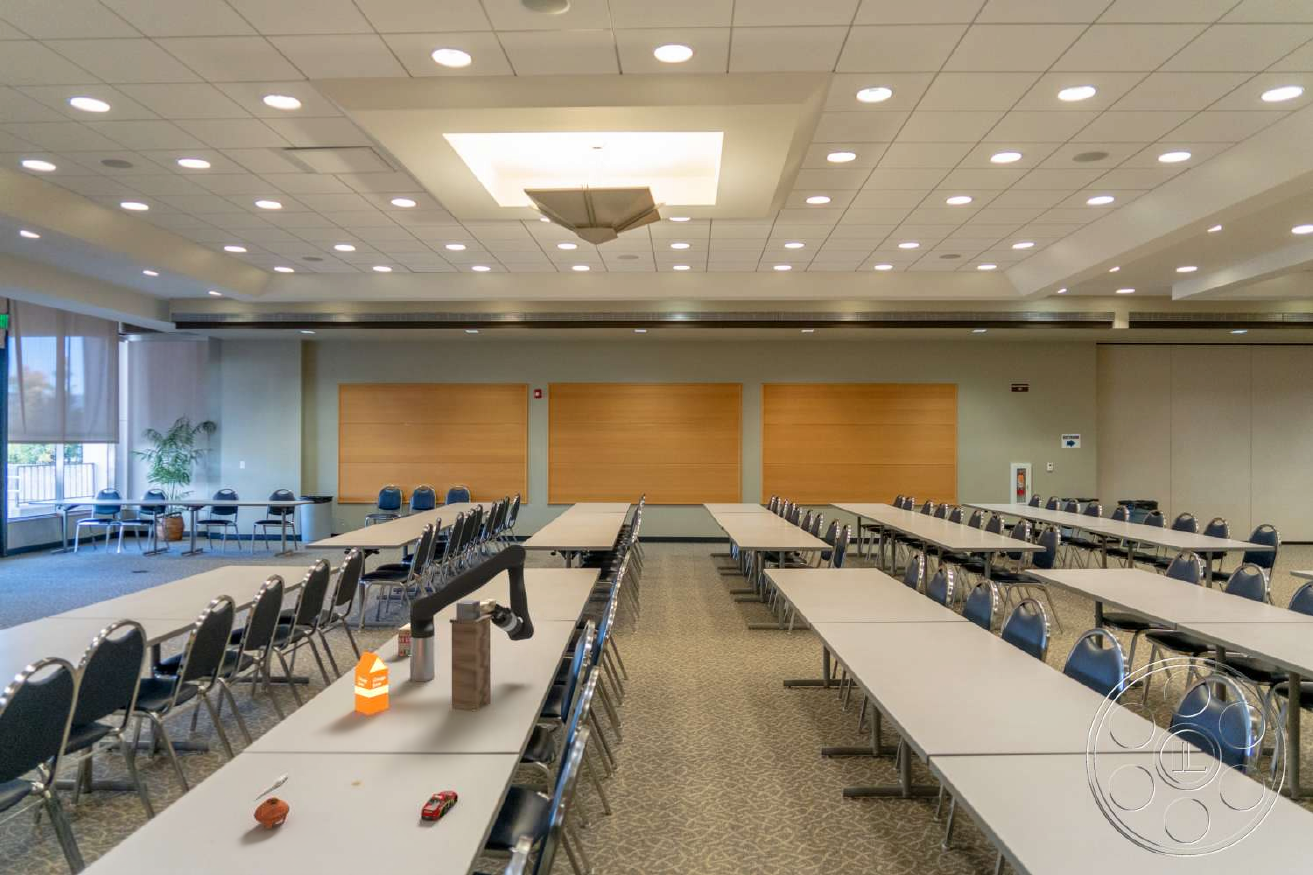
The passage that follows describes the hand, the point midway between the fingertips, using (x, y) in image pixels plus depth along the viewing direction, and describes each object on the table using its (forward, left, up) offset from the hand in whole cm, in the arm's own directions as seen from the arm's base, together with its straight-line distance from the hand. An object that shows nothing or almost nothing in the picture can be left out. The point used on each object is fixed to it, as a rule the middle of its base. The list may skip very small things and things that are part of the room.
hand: (485, 605), depth 287 cm
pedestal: (-5, -9, -34) cm, 36 cm away
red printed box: (-33, +74, -35) cm, 88 cm away
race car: (-11, -88, -35) cm, 95 cm away
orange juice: (-40, -5, -34) cm, 53 cm away
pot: (-52, -87, -34) cm, 107 cm away
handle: (-3, -5, -2) cm, 6 cm away
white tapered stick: (-58, -65, -35) cm, 94 cm away
